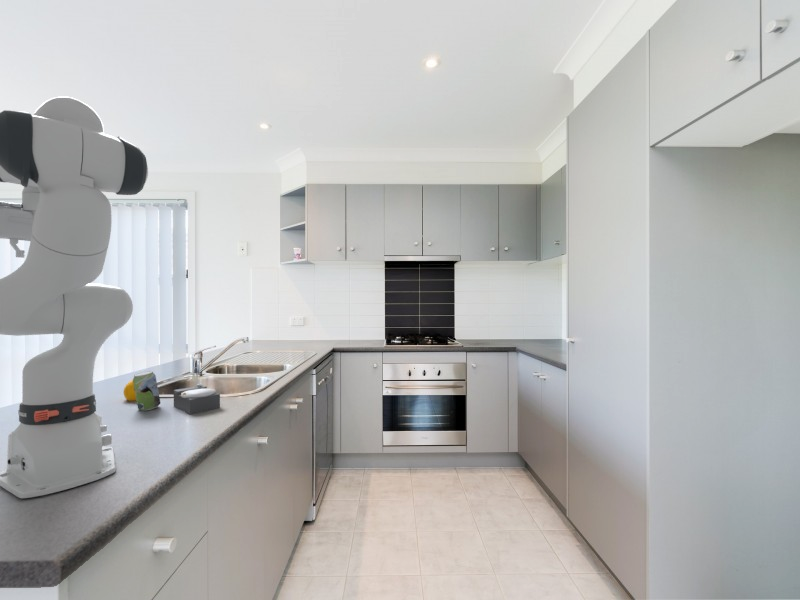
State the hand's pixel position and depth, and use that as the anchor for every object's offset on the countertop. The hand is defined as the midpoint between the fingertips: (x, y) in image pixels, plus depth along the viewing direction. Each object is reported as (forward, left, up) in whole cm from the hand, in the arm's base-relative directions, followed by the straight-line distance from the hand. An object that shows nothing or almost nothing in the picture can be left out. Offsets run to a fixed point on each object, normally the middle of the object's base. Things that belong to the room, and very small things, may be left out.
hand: (45, 258), depth 100 cm
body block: (-10, -35, -46) cm, 58 cm away
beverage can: (0, -24, -46) cm, 52 cm away
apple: (+16, -26, -46) cm, 55 cm away
